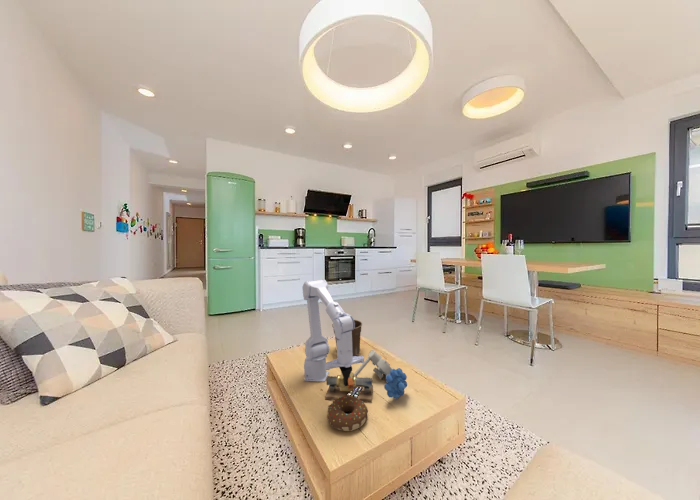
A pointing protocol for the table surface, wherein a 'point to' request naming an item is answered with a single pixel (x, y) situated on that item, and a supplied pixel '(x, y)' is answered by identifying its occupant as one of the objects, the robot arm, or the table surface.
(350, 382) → the valve lever
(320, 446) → the table surface
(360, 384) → the pipe and valve body
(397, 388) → the grapes
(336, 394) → the walnut board
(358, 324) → the plant pot
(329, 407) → the donut
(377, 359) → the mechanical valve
